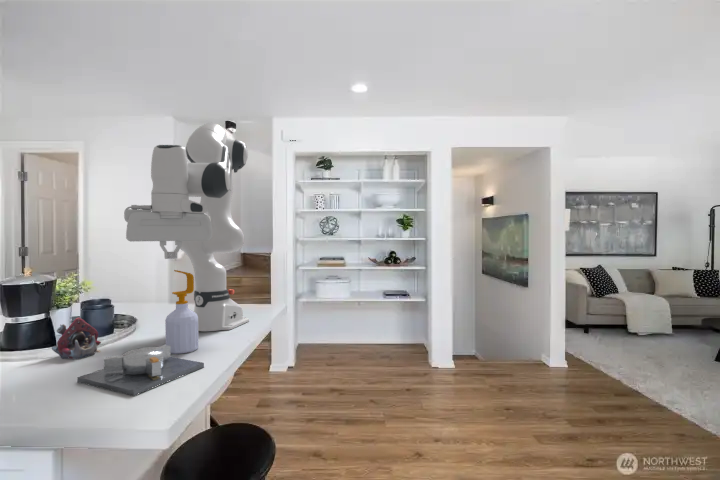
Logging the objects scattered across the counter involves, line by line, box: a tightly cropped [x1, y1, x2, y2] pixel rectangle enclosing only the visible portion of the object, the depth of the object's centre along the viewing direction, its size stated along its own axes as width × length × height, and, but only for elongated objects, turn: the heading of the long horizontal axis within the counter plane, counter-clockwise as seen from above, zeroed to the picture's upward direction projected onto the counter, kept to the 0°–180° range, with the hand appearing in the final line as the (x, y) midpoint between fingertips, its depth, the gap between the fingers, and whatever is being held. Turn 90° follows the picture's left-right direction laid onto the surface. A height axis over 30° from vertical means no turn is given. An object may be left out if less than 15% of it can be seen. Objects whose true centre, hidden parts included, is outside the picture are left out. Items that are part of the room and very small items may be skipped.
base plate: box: [76, 356, 205, 397], centre depth 99 cm, size 20×20×1 cm
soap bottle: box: [164, 269, 199, 355], centre depth 119 cm, size 9×9×25 cm
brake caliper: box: [51, 317, 102, 360], centre depth 115 cm, size 11×11×12 cm
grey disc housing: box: [103, 344, 172, 377], centre depth 98 cm, size 14×16×4 cm
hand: (170, 258), depth 102 cm, fingers closed
